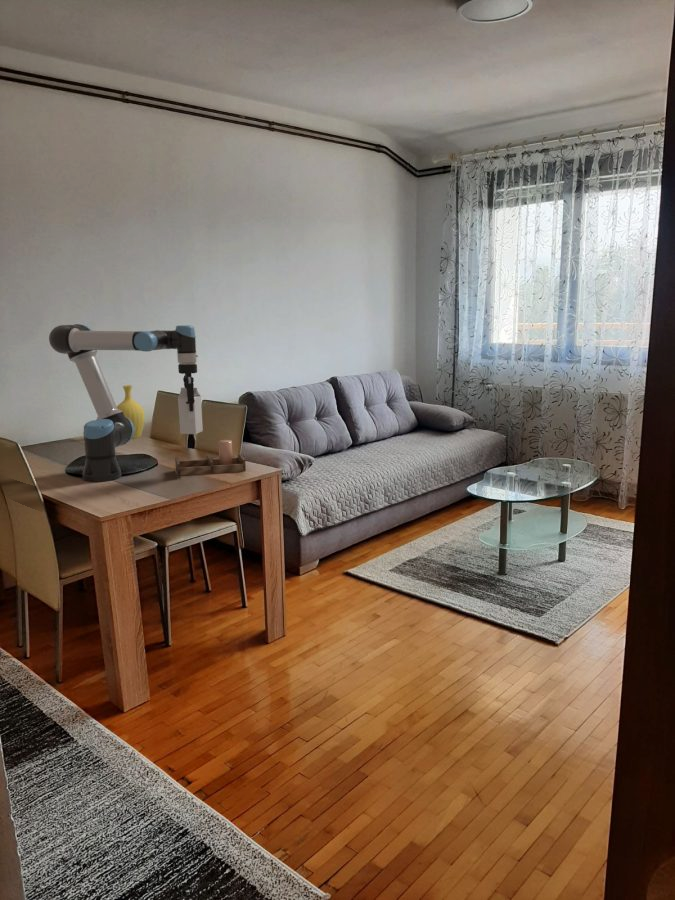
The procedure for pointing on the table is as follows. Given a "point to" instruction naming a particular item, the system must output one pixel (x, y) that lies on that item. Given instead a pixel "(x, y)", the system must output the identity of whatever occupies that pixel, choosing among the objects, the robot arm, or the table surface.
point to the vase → (132, 411)
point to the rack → (208, 466)
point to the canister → (225, 452)
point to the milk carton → (187, 424)
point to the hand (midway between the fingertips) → (190, 417)
